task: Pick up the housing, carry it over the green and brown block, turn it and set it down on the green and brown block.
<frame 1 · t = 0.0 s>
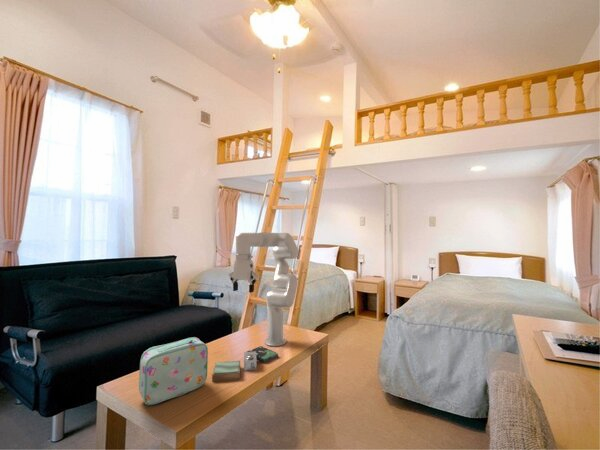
hand: (243, 291, 145), 37 cm above the table, tool pointing down, fingers open, 9 cm apart
housing: (250, 365, 144), on the table
disk drive: (262, 357, 155), on the table
lunch box: (175, 392, 120), on the table
green and brown block: (226, 374, 136), on the table
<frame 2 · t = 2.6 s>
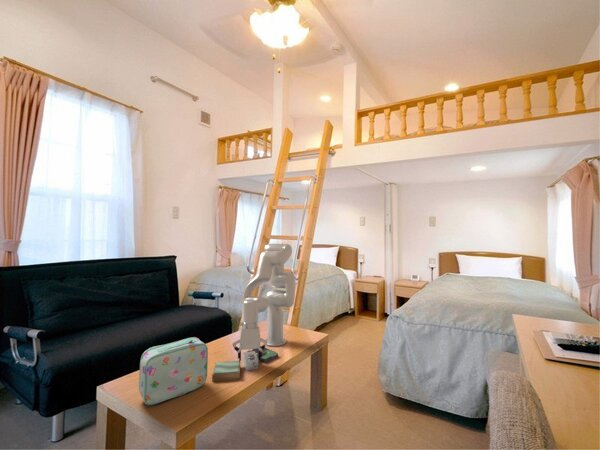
hand: (249, 359, 144), 3 cm above the table, tool pointing down, fingers open, 9 cm apart
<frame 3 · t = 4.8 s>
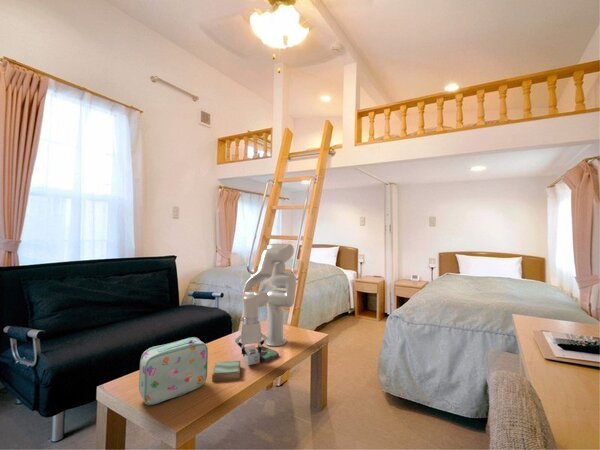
hand: (251, 354, 146), 5 cm above the table, tool pointing down, fingers closed on housing, 7 cm apart
housing: (251, 359, 146), point 2 cm above the table, touching gripper
everything else where it was.
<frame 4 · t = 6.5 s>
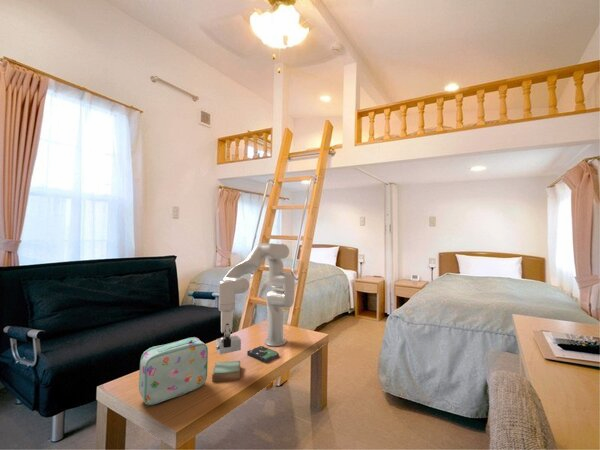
hand: (227, 343, 136), 14 cm above the table, tool pointing down, fingers closed on housing, 7 cm apart
housing: (228, 349, 136), point 11 cm above the table, touching gripper
everything else where it was.
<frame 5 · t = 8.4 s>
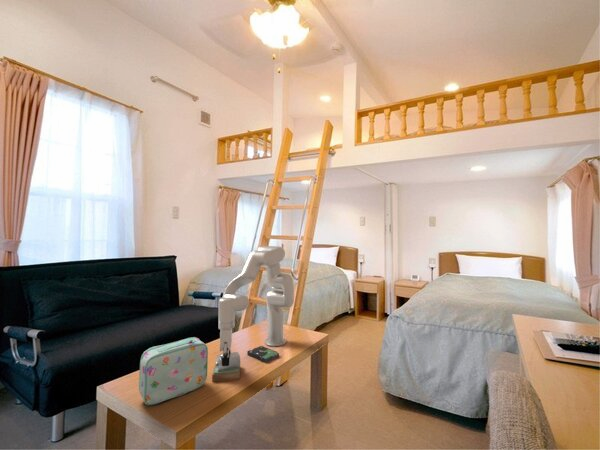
hand: (226, 361, 136), 6 cm above the table, tool pointing down, fingers closed on housing, 7 cm apart
housing: (228, 366, 136), point 3 cm above the table, touching gripper, green and brown block
everything else where it was.
when the fingers open (6 cm above the table, at t = 9.2 s): housing stays where it is, resting on green and brown block.
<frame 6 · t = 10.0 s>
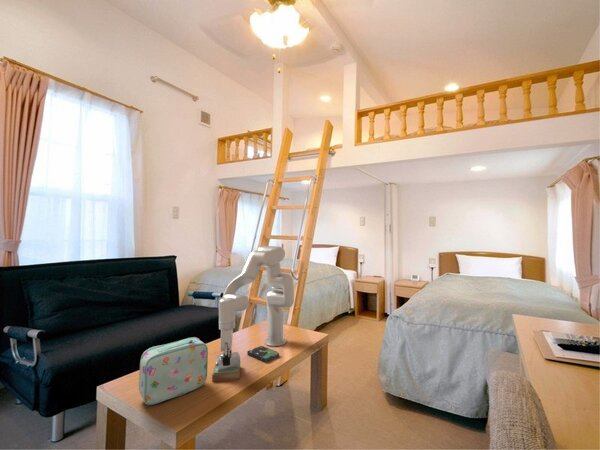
hand: (227, 360, 136), 6 cm above the table, tool pointing down, fingers open, 9 cm apart
housing: (228, 366, 136), point 3 cm above the table, touching green and brown block
everything else where it was.
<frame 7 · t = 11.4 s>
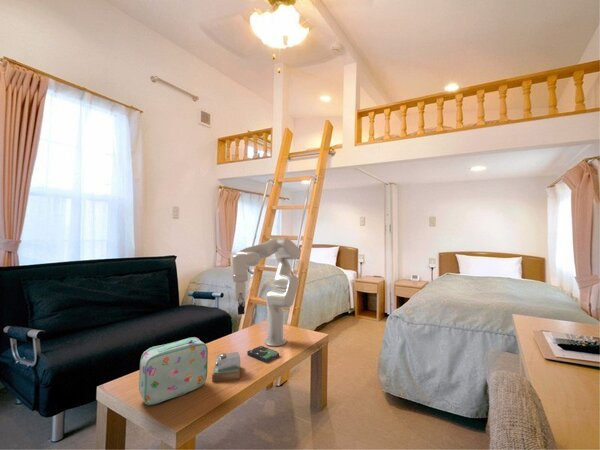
hand: (241, 311, 147), 27 cm above the table, tool pointing down, fingers open, 9 cm apart
nothing on the table moved.
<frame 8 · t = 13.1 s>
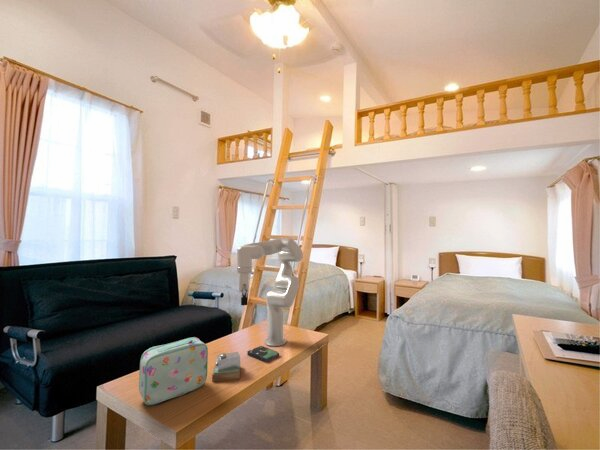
hand: (244, 302, 149), 30 cm above the table, tool pointing down, fingers open, 9 cm apart
nothing on the table moved.
at the end: housing inside the target area on the green and brown block (0.6 cm from its centre), point 3.4 cm above the green and brown block's base; housing tilted 0°; the gripper is holding nothing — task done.
